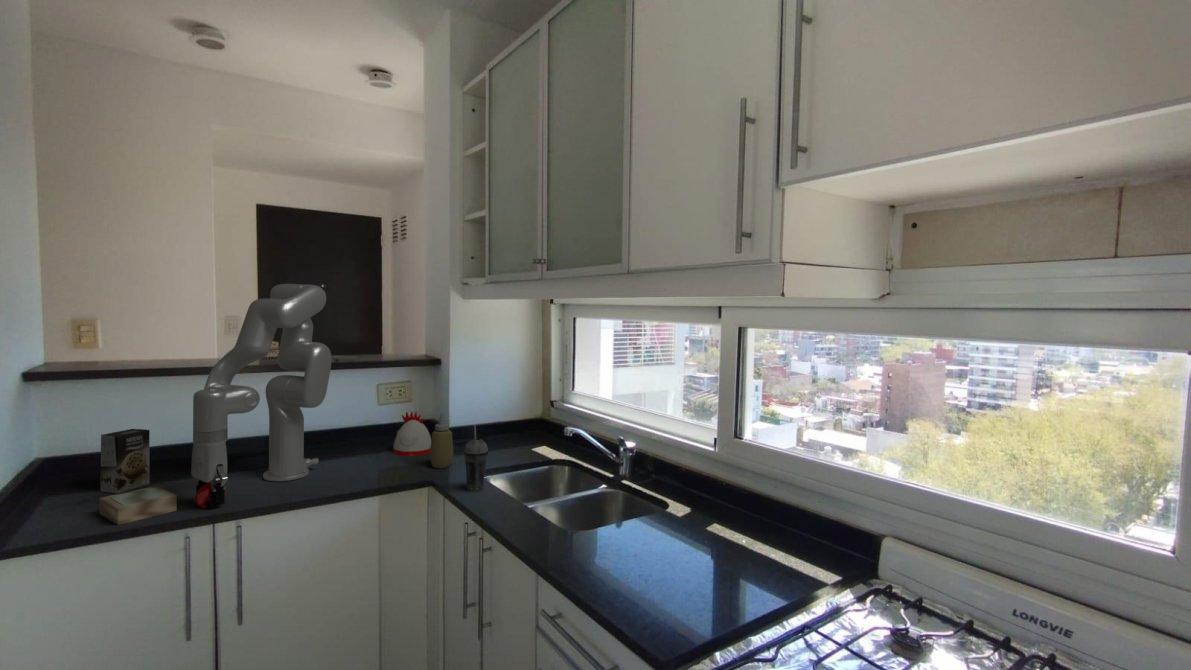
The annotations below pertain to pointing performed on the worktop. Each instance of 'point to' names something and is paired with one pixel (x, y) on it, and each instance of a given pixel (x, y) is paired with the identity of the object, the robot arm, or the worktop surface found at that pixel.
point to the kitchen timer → (412, 437)
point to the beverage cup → (475, 463)
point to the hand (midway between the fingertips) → (210, 501)
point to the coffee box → (124, 460)
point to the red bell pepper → (203, 495)
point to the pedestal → (137, 505)
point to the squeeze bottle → (441, 445)
